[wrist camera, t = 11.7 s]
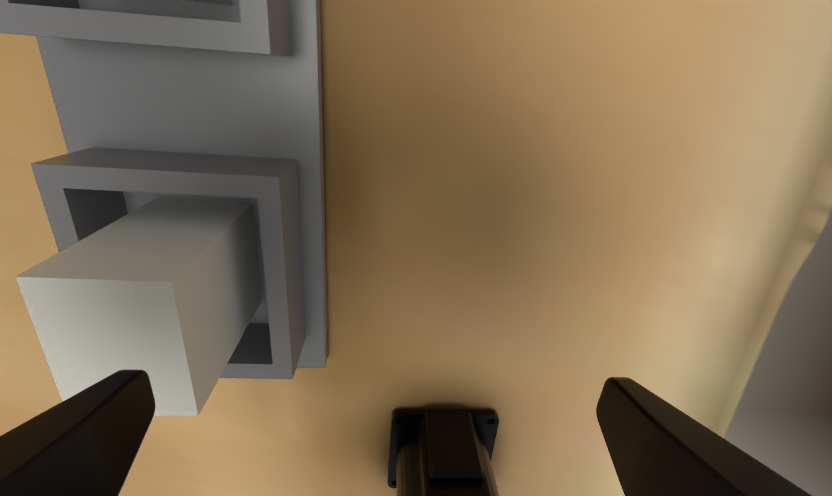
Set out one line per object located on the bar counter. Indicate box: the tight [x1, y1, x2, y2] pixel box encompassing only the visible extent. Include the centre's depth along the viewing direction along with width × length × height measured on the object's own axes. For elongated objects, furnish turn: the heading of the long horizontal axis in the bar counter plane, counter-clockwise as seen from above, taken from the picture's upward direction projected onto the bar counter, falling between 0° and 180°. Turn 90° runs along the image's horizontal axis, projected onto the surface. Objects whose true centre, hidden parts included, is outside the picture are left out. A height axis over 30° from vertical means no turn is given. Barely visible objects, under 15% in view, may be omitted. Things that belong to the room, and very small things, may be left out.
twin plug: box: [16, 199, 261, 416], centre depth 15 cm, size 5×4×7 cm
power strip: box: [0, 0, 328, 379], centre depth 15 cm, size 26×10×4 cm, turn 176°
